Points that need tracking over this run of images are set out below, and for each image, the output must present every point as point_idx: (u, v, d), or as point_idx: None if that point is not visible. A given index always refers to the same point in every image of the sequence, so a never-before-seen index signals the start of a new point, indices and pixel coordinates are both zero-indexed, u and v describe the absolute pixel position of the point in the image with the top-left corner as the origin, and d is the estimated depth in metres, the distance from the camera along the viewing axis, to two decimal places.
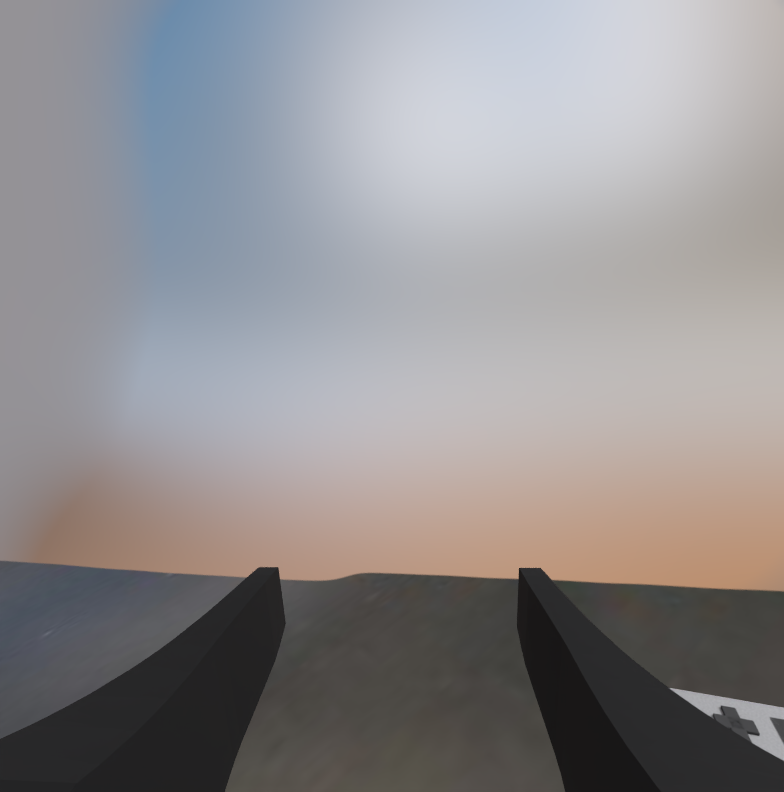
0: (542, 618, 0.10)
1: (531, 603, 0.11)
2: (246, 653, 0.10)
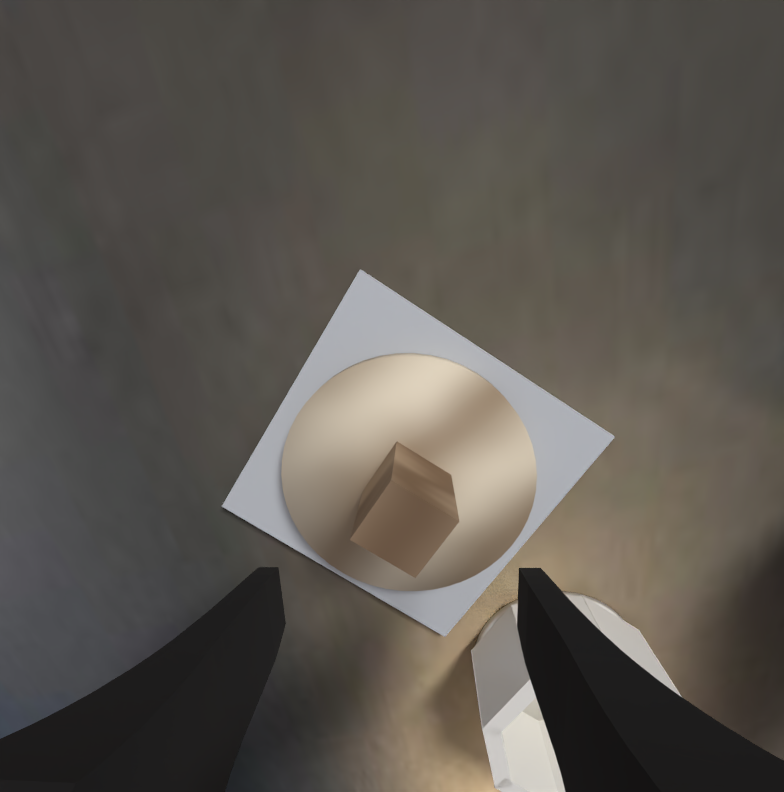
0: (542, 618, 0.10)
1: (531, 603, 0.11)
2: (246, 653, 0.10)
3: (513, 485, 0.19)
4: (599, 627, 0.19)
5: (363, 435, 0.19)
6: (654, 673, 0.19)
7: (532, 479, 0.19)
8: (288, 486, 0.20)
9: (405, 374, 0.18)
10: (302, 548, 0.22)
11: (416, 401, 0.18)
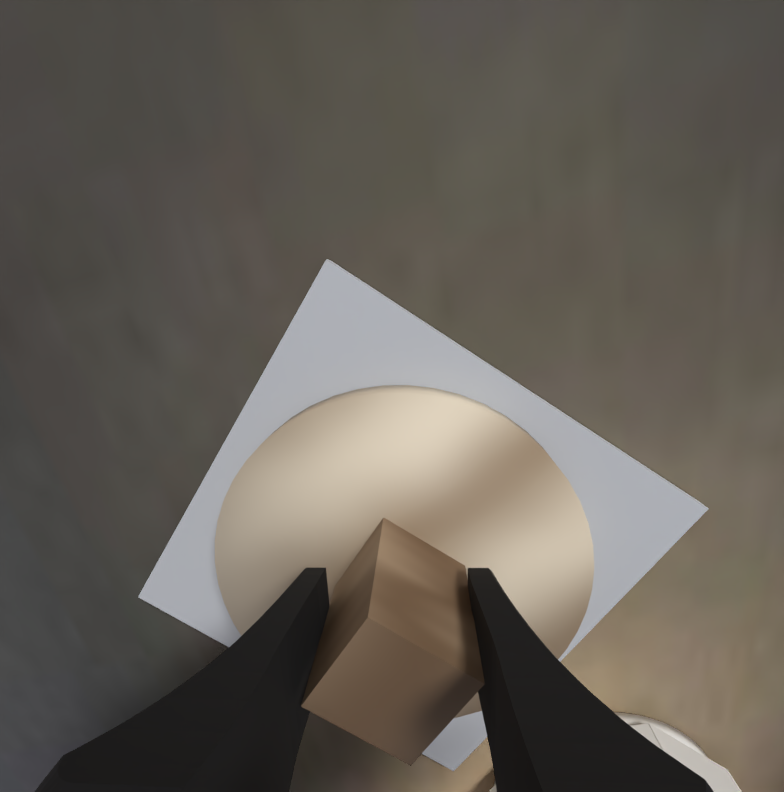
0: (480, 617, 0.10)
1: (474, 603, 0.11)
2: (303, 654, 0.10)
3: (558, 581, 0.13)
4: None
5: (333, 508, 0.13)
6: None
7: (587, 573, 0.13)
8: (226, 578, 0.14)
9: (395, 419, 0.12)
10: None
11: (412, 460, 0.12)
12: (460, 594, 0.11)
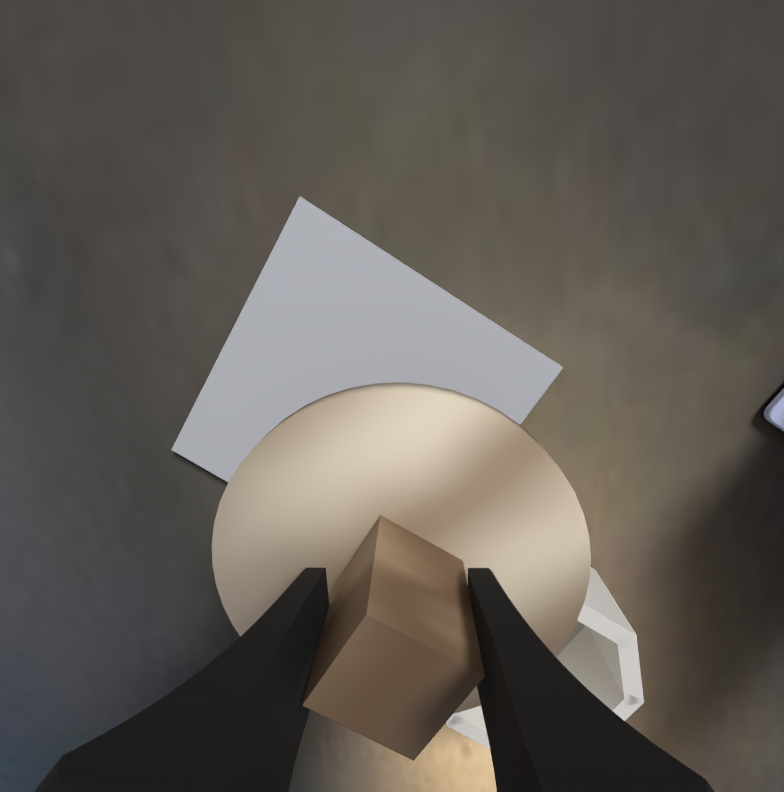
0: (480, 617, 0.10)
1: (474, 603, 0.11)
2: (302, 654, 0.10)
3: (555, 573, 0.13)
4: None
5: (330, 507, 0.13)
6: (604, 604, 0.18)
7: (584, 564, 0.13)
8: (224, 581, 0.14)
9: (389, 416, 0.12)
10: None
11: (407, 456, 0.12)
12: (458, 589, 0.11)
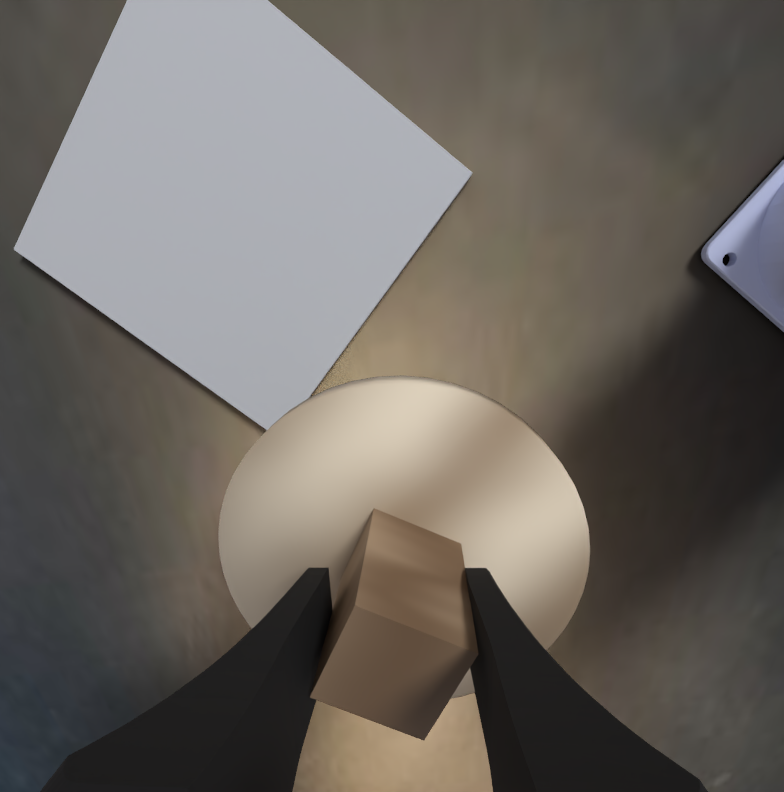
0: (477, 617, 0.10)
1: (471, 603, 0.11)
2: (306, 654, 0.10)
3: (555, 546, 0.13)
4: None
5: (324, 506, 0.13)
6: None
7: (582, 534, 0.13)
8: (236, 587, 0.14)
9: (368, 412, 0.12)
10: (110, 311, 0.18)
11: (391, 448, 0.12)
12: (455, 571, 0.12)
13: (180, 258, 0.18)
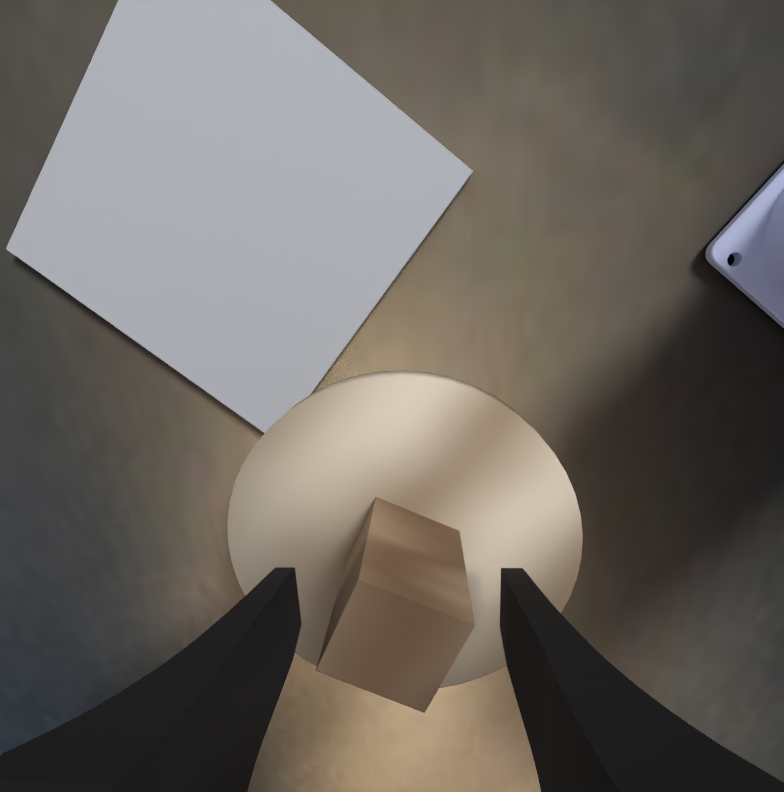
0: (520, 618, 0.10)
1: (511, 603, 0.11)
2: (265, 653, 0.10)
3: (549, 533, 0.14)
4: None
5: (329, 495, 0.14)
6: None
7: (575, 521, 0.13)
8: (244, 576, 0.15)
9: (370, 404, 0.13)
10: (105, 312, 0.18)
11: (392, 439, 0.13)
12: (453, 554, 0.12)
13: (175, 258, 0.17)
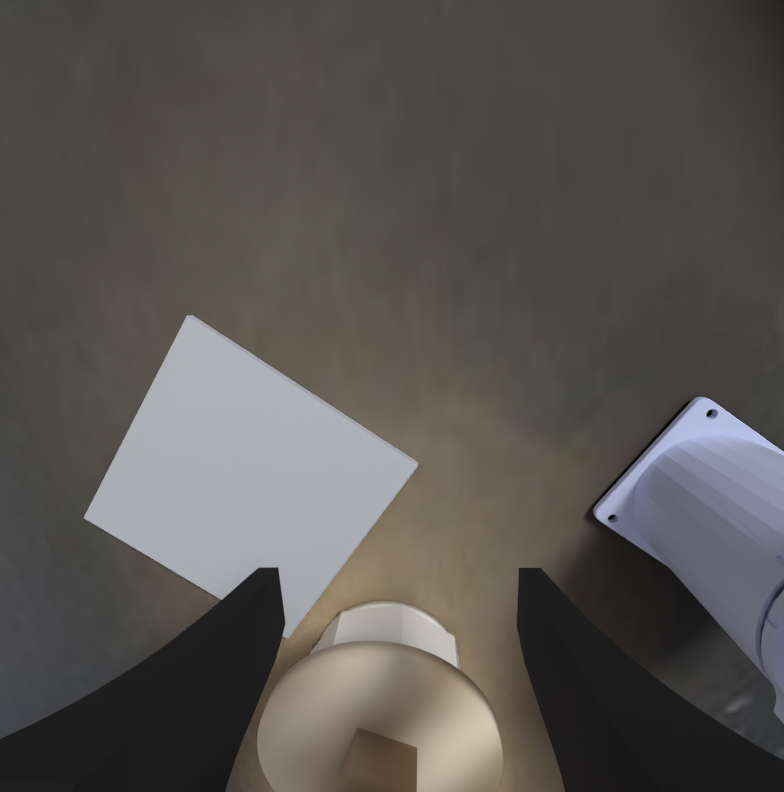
0: (542, 618, 0.10)
1: (531, 603, 0.11)
2: (245, 653, 0.10)
3: (479, 748, 0.19)
4: (401, 634, 0.22)
5: (325, 726, 0.20)
6: None
7: (496, 741, 0.19)
8: (270, 775, 0.21)
9: (348, 674, 0.19)
10: (156, 557, 0.24)
11: (365, 693, 0.19)
12: (409, 781, 0.18)
13: (207, 522, 0.24)
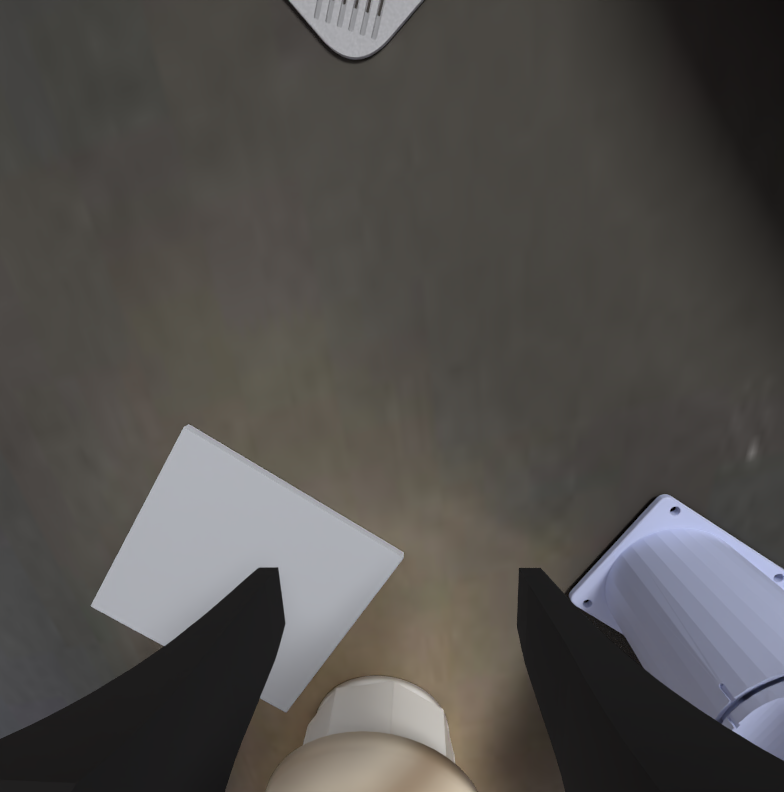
0: (542, 618, 0.10)
1: (531, 603, 0.11)
2: (246, 653, 0.10)
3: None
4: (391, 715, 0.23)
5: None
6: None
7: None
8: None
9: (342, 765, 0.20)
10: (160, 640, 0.26)
11: (358, 783, 0.21)
12: None
13: (207, 609, 0.25)
